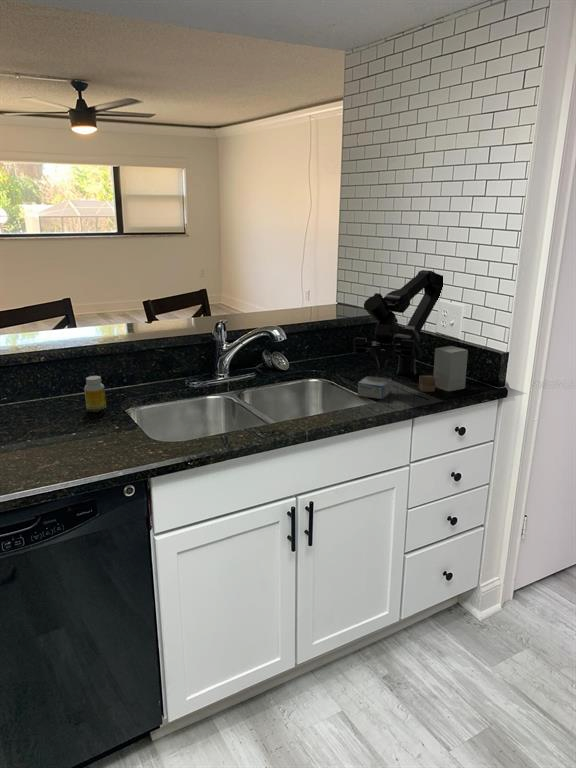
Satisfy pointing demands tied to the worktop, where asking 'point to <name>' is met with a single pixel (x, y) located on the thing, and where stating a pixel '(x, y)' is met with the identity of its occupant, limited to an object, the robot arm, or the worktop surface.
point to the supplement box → (450, 368)
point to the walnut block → (427, 383)
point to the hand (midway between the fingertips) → (381, 370)
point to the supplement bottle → (94, 393)
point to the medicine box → (374, 387)
